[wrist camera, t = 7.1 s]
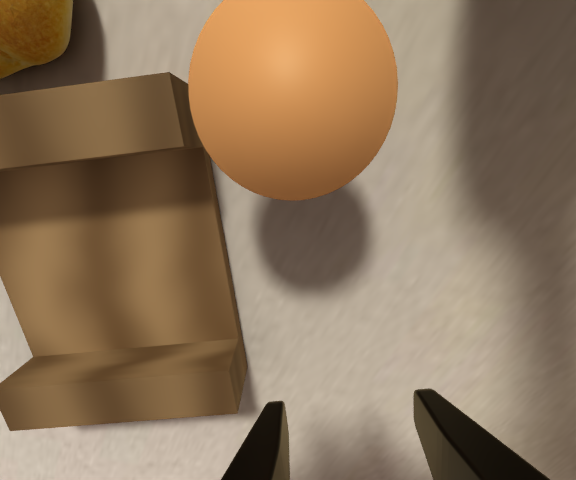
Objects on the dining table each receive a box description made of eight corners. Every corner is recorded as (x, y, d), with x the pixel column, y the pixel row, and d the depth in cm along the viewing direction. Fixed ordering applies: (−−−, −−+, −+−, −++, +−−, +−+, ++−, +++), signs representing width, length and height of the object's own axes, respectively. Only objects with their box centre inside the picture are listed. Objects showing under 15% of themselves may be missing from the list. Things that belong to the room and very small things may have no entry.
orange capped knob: (352, 37, 16) (396, -46, 9) (359, 174, 18) (399, 189, 11) (220, 55, 16) (167, -12, 9) (240, 188, 18) (209, 210, 11)
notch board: (197, 90, 17) (168, 72, 13) (247, 366, 22) (237, 413, 18) (-44, 121, 17) (-140, 113, 14) (58, 382, 22) (10, 430, 19)
